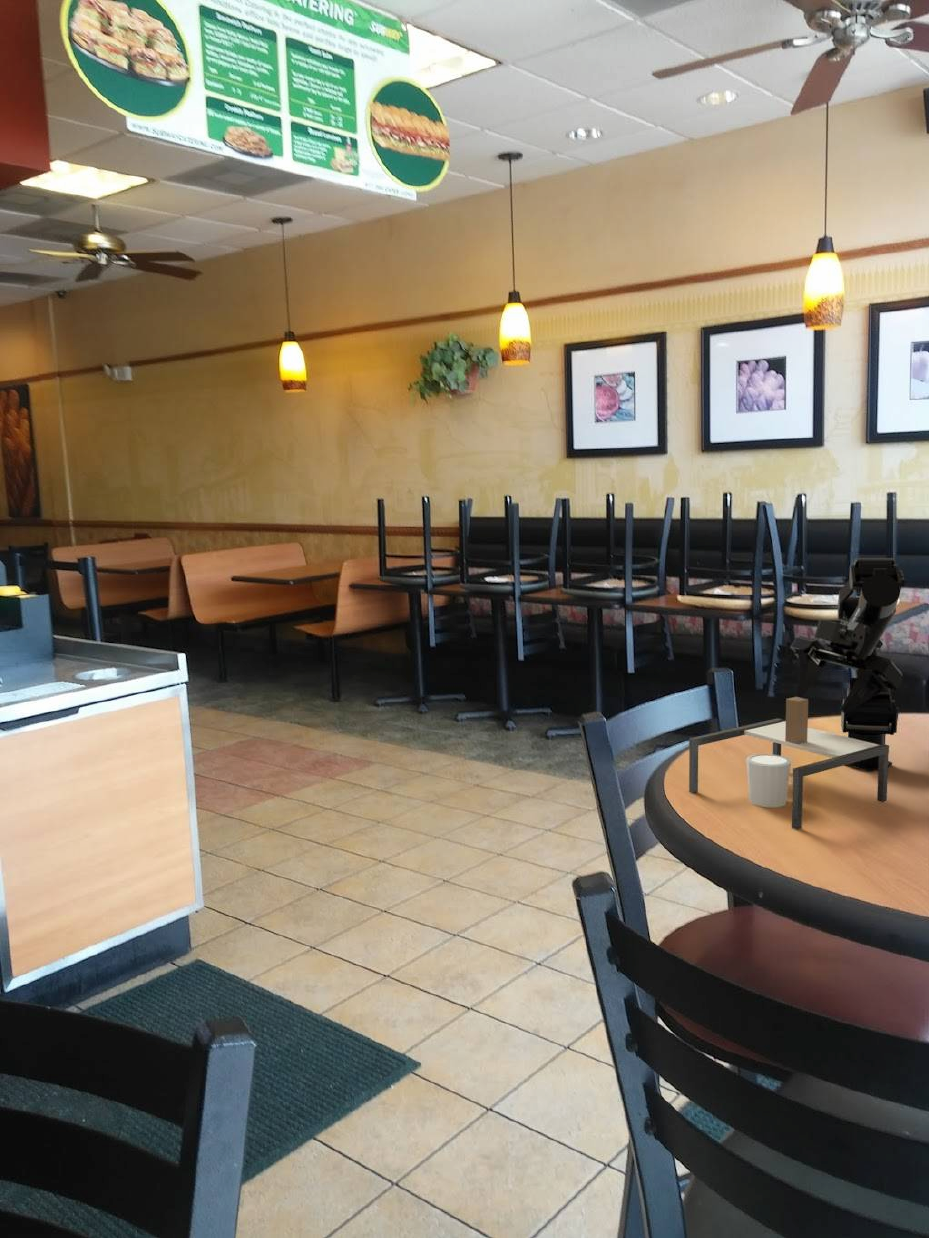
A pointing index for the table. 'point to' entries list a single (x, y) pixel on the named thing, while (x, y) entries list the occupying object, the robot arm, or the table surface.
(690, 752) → the cover frame
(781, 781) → the white cup
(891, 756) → the table surface
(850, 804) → the table surface
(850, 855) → the table surface
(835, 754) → the sliding cover
